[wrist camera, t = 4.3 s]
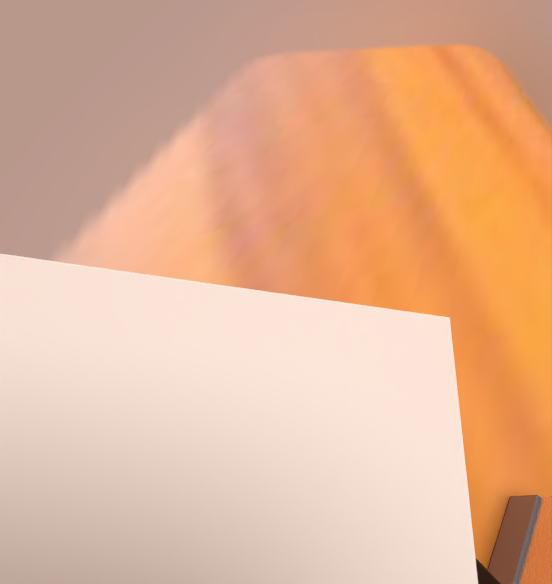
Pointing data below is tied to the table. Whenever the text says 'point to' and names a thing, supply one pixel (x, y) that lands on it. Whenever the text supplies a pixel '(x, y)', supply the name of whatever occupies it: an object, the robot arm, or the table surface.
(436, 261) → the table surface
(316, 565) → the cream block
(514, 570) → the display base
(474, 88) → the table surface
